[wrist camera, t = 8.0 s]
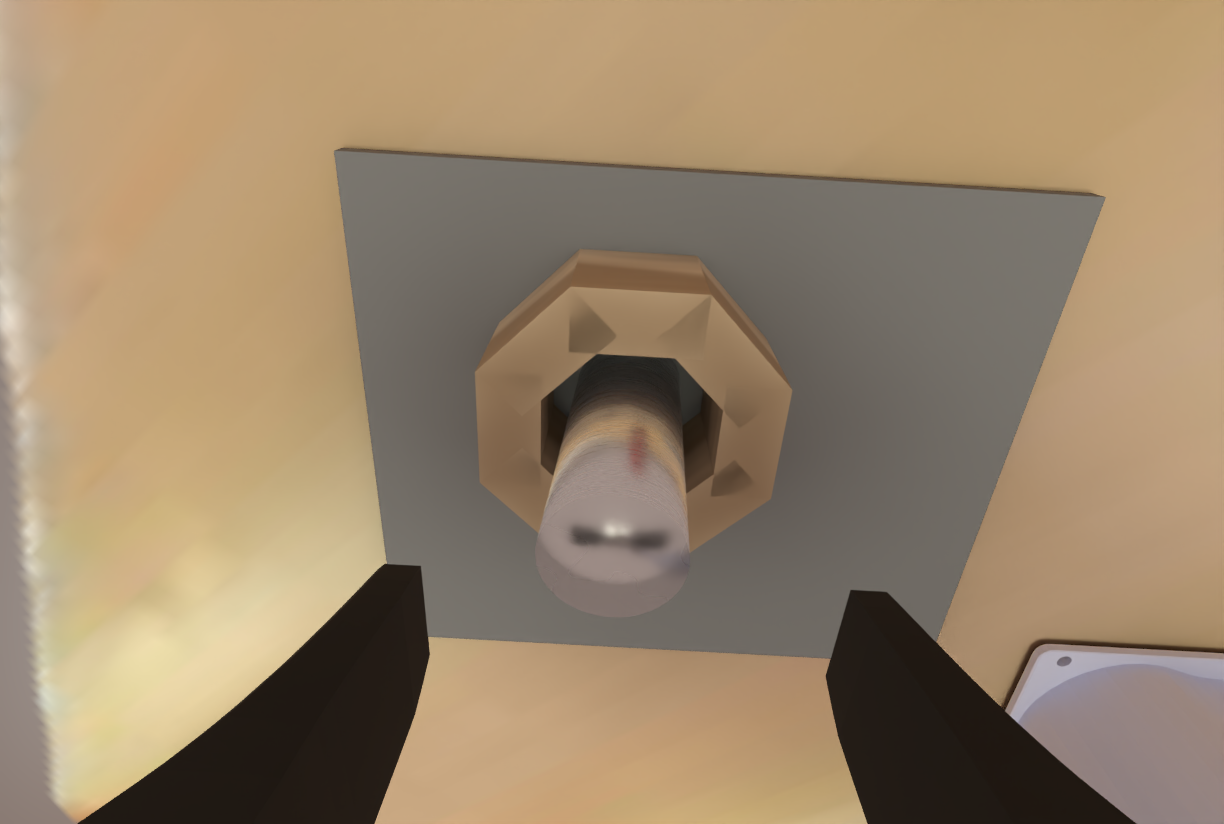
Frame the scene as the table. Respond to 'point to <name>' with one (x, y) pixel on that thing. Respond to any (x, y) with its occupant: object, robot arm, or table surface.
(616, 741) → the table surface
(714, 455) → the beech bead
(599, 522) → the steel peg
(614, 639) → the charcoal mat
